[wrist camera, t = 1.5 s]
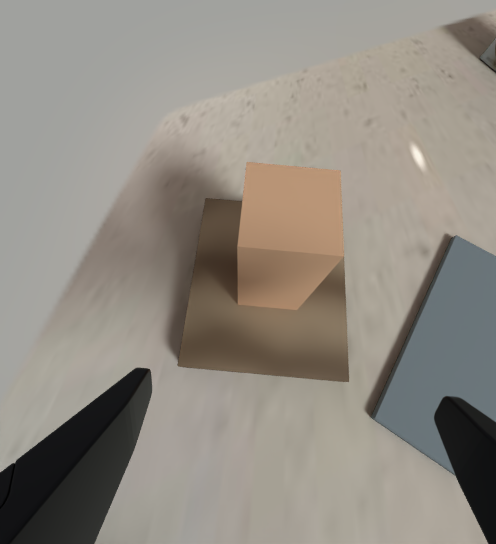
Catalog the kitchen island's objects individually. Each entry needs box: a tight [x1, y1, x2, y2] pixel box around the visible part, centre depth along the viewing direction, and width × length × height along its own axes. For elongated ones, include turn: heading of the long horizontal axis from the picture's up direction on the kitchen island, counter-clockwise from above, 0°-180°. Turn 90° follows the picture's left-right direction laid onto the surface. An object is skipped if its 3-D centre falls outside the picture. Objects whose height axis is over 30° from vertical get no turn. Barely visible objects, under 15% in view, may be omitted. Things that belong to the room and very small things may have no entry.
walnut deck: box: [178, 198, 349, 382], centre depth 23 cm, size 14×12×2 cm
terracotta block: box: [237, 162, 344, 310], centre depth 17 cm, size 4×4×10 cm
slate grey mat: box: [371, 235, 496, 476], centre depth 22 cm, size 18×12×1 cm, turn 146°
